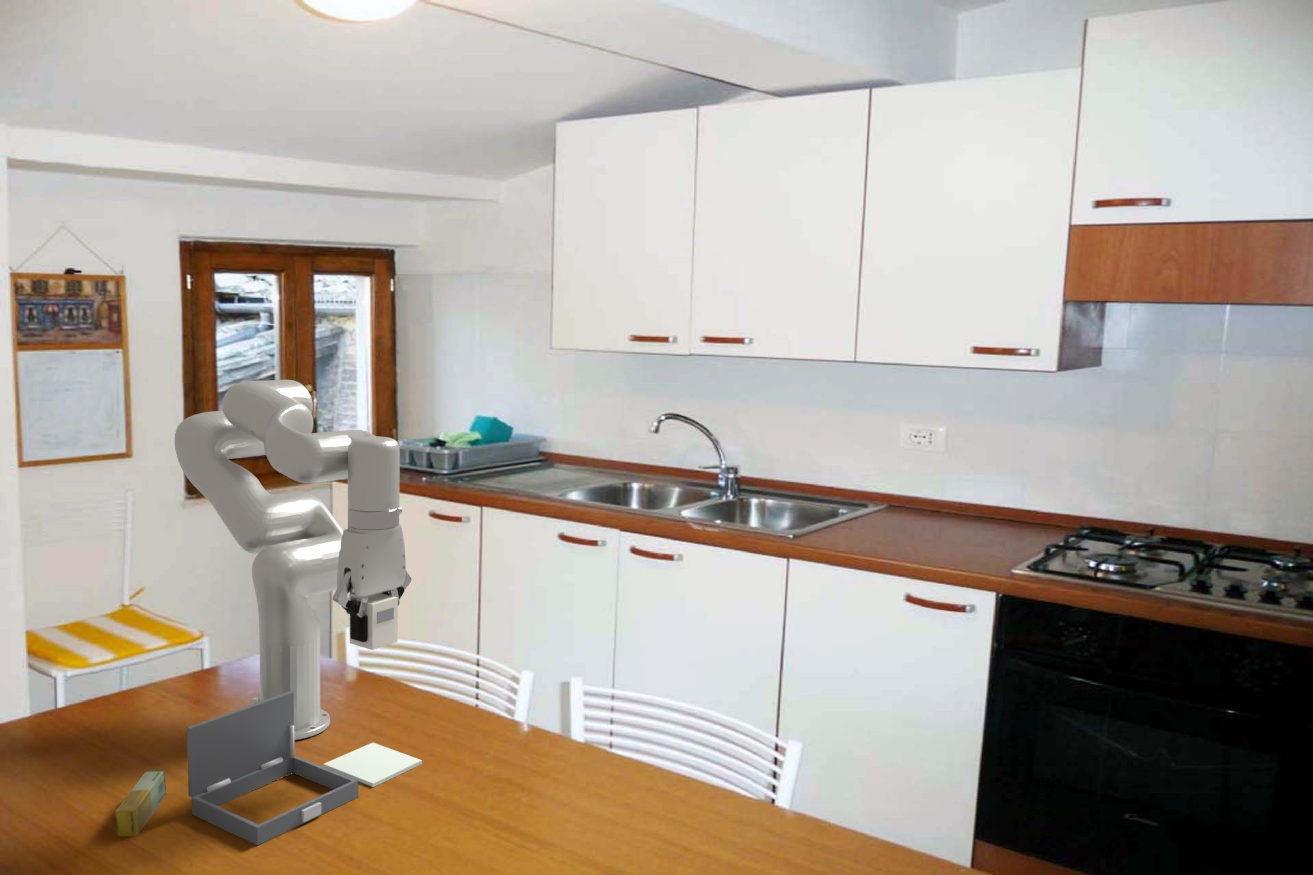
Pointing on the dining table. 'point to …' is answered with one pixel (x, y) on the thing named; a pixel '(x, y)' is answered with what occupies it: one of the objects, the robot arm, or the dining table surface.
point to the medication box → (140, 803)
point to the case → (255, 768)
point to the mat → (373, 764)
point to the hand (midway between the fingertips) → (373, 634)
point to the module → (380, 621)
